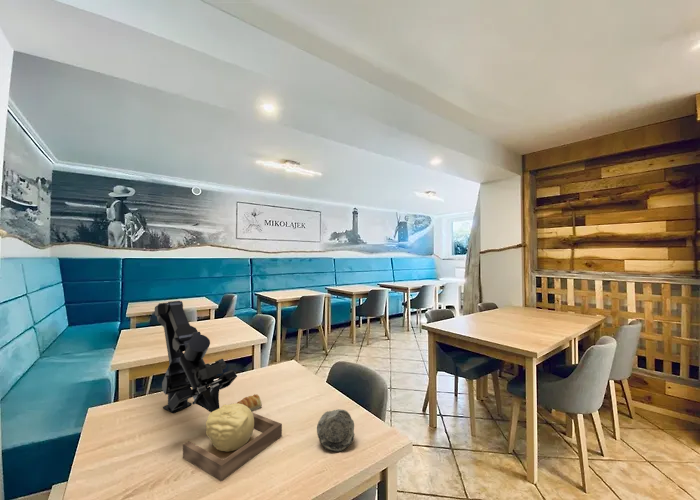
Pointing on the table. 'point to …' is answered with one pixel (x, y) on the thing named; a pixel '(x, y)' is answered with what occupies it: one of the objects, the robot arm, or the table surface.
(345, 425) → the fossil
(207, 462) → the frame
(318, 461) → the table surface
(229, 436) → the sculpture
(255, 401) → the pastry
